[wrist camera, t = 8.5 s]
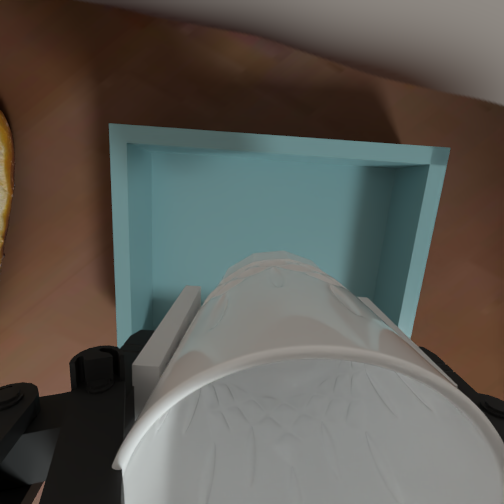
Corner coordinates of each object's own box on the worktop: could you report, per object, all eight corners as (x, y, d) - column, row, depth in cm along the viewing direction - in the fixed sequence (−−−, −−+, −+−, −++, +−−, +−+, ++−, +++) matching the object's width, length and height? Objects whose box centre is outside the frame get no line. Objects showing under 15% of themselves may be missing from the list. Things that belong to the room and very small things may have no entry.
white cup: (206, 228, 14) (104, 320, 5) (362, 248, 14) (587, 378, 5) (193, 367, 16) (99, 648, 6) (332, 383, 16) (451, 682, 6)
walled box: (406, 156, 26) (450, 147, 20) (370, 353, 30) (398, 393, 25) (141, 137, 26) (108, 123, 20) (144, 338, 30) (118, 375, 24)
